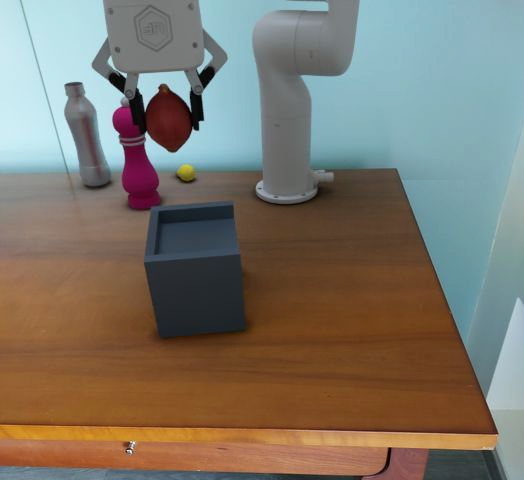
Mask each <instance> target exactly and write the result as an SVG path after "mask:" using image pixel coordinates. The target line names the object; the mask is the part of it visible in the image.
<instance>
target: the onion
mask: <svg viewBox="0 0 524 480" xmlns="http://www.w3.org/2000/svg"><path fill="white" fill-rule="evenodd" d="M157 90H158V92H156V93H155V94H154V95H152V97H151V98H150V99H149V101H148V103H147V105H146V107H145V127H146V130H147V131H146V134H148V136H149V137H150V139H151V140H152V141H153V142H155V143H156V144H157V145H158V146H160V147H162V148H163V149H165V150H166V151H167V152H168V153H170V154H175V153H177V152H178V151H179V150H180V149H182V147H183V146H184V145H185V144H186V143H187V142H188V140H189V139H190V137H191V135H192V132H193V123H192V114H191V107H189V105H188V103H187V102H186V101H185V100H184V99H183V98H182V97H181V96H180V95H179V94H177V93H176V92H174V91H173V90H171V88H170V87H169V86H168V84H167V83H160V84H159V85H158V87H157Z"/></svg>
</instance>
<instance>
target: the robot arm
mask: <svg viewBox="0 0 524 480" xmlns="http://www.w3.org/2000/svg"><path fill="white" fill-rule="evenodd" d="M199 1H200V0H102V5H103V13H104V20H105V27H106V33H107V37H106V38H105V40H104V42H103V44H102V45H101V47H100V48H99V50H98V52H97V54H96V55H95V57H94V58H93V59H92V61H91V68H92V70H94V71H95V72H96V73H97V74H99V76H101V77H103V78H104V79H106V80H107V81H108V83H109V84H111V86H113V87H114V88H116V90H118V91H119V92H120V93H121V94H123V95H124V96H123V97H126V98H127V99H128V100H129V105H130V111H131V116H132V122H133V125H134V126H138V127H139V132H140V135H144V134H145V135H146V134H147V130H146V127H145V111H146V107H145V103H144V97H143V94H142V93H141V92H140V89H139V88H138V84H139V78H140V74H141V75H143V74H157V73H172V72H183V73H184V74H185V77H186V79H187V81H188V83H189V85H190V90H189V105H190V111H191V114H192V123H193V129H192V131H194V132H198V131H200V122H205V112H204V102H203V93H204V91H205V90H206V88H207V87H208V85H209V84H210V83H211V82H212V80H213V79H214V78H215V76H216V75H217V73H218V72H219V71H220V70H221V69H222V68H223V66H224V65H225V64H226V63H227V62H228V59H229V57H228V53H227V52H226V50H224V48H223V47H222V46H221V45H220V44H219V43H218V42H217V41H216V40H215V39H214V38H213V37H212V36H211V34H210V33H208V31H207V30H206V29H205V28H204V27H203V23H202V14H201V9H200V8H201V7H200V2H199ZM286 1H288V2H290V1H291V2H321V3H322V2H323V3H327V6H328V8H327V9H328V10H306V9H276V10H271V11H268V12H266V13H264V14H263V15H261V16H260V17H259V18H258V19H257V21H256V22H255V24H254V26H253V29H252V33H251V35H252V36H251V43H252V44H251V45H252V46H251V47H252V52H253V56H254V57H253V58H254V62H255V67H256V72H257V73H256V74H257V80H258V88H259V90H258V91H259V103H260V104H259V105H260V106H259V107H260V108H259V109H260V132H261V133H260V134H261V158H262V159H261V161H262V180H260V181H259V182H257V184H256V186H255V194H256V196H257V197H258V198H259V199H261V200H263V201H265V202H267V203H271V204H277V205H293V204H294V205H295V204H300V203H304V202H307V201H309V200H311V199H312V198H314V197H315V196H317V193H318V184H321V183H324V184H326V183H327V184H328V183H333V182H334V178H335V177H334V175H335V174H334V172H326V170H325V169H318V170H314V169H313V168H312V166H311V156H312V155H311V152H312V151H311V148H312V111H313V110H312V109H313V107H312V106H313V105H312V96H311V93H310V91H309V88H308V86H307V84H306V82H305V81H304V79H303V77H302V76H312V77H315V76H316V77H340V76H342V75H344V74H345V73H346V72H347V71H349V70H348V69H349V68H350V66H351V63H352V60H353V56H354V50H355V43H356V35H357V28H358V27H357V25H358V18H359V10H360V3H361V2H360V1H361V0H286ZM205 51H207V52H208V54H210V55H211V59H210V60H209V62H208V63H207V64H206V65H205V66H204V67H203V69H201V71H200V72H199V70H198V68H199V67H201V66H202V65H203V64H204V61H205V57H206V56H205ZM110 58H111V61H112V64H113V66H114V68H115V69H114V68H113V66H112V65H111V64H110V63H109V59H110ZM123 74H126V77H125V76H124V75H123Z"/></svg>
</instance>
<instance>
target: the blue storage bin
mask: <svg viewBox="0 0 524 480" xmlns="http://www.w3.org/2000/svg"><path fill="white" fill-rule="evenodd" d="M234 207H235V206H234V200H222V201H207V202H194V203H184V204H183V203H182V204H181V203H180V204H167V205H157V206H154V207H151V208H150V213H149V220H148V228H147V234H146V235H147V236H146V242H145V248H144V249H145V250H144V258H143V265H144V270H145V275H146V281H147V285H148V291H149V294H150V300H151V305H152V309H153V314H154V319H155V323H156V329H157V334H158V338H159V339H163V338H172V337H184V336H185V337H186V336H196V335H206V334H216V333H217V334H218V333H227V332H229V333H230V332H238V331H239V332H240V331H247V327H246V325H247V324H246V312H245V311H246V310H245V297H244V295H245V294H244V284H243V283H244V282H243V270H242V269H243V268H242V267H243V266H242V255H241V248H240V247H239V239H238V234H237V226H236V219H235V209H234Z"/></svg>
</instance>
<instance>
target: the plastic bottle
mask: <svg viewBox="0 0 524 480" xmlns="http://www.w3.org/2000/svg"><path fill="white" fill-rule="evenodd" d="M63 87H64V92H65V96H66V97H67V100H66V103H65V106H64V108H63V115H64V119H65V120H66V124H67V126H68V128H69V130H70V133H71V137H72V140H73V142H74V146H75V150H76V157H77V161H78V173H79V176H80V178H81V180H82V181H81V182H83V183H84V184H85V185H86V186H89V187H100V186H104V185H107V184H108V183H109V182H110V180H111V168H110V165H109V163H108V161H107V159H106V155H105V152H104V149H103V146H102V142H101V141H102V140H101V137H100V131H99V130H100V129H99V121H98V120H99V119H98V111H97V109H96V107H95V105H94V104H93V103H92V101H90V99H88V98H87V97H86V90H85V86H84V83H83V82H82V81H71V82H67V83H65V84H64V85H63Z"/></svg>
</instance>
